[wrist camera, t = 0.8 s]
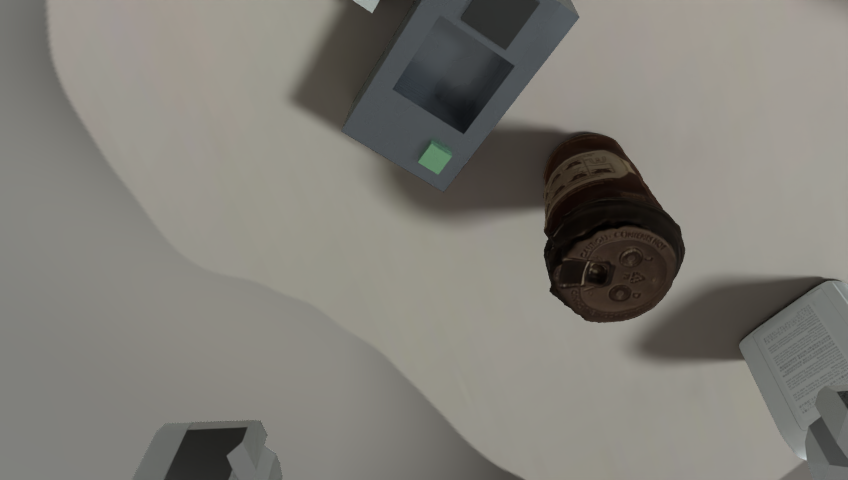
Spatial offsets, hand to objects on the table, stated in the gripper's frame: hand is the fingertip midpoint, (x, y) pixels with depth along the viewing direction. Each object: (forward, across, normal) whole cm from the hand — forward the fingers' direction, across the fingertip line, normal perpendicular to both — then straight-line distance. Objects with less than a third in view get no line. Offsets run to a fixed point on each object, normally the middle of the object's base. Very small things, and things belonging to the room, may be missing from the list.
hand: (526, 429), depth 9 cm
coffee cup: (+36, -6, +15) cm, 40 cm away
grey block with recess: (+36, +2, +5) cm, 36 cm away
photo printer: (+36, -23, +32) cm, 54 cm away
